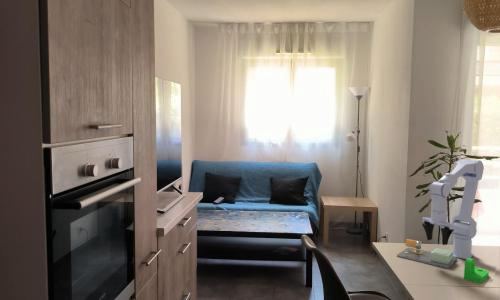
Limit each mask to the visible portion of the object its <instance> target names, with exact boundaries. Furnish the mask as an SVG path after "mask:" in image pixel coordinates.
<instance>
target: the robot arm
mask: <svg viewBox="0 0 500 300" xmlns="http://www.w3.org/2000/svg"><path fill="white" fill-rule="evenodd" d="M484 167H485V166H484V163H483V162H482V161H481V160H474V159H473V160H472V159H465V158H464V159H463V158H459V159H458V160H457V161H456V163H455V168H453V169H452V171H451V172H446V173H444V175H443V176H442V177H441V178H440V179H439V180H437V181H434V182H432V183H431V184H430V185H429V188H428V192H429V194H430V195H429V197H430V200H431V206H430V208H431V209H430V210H431V211H430V217H427V216H425V217H424V216H423V217H421V218H422V219H421V222H423V223H421V225H422V227H423V229H424V231H425V232H424V233H425V235H426V239H427V241H432V240H433V232H434V228H435V226H439V227H441V228H440V232H441V237H442V238H441V240H442V241H441V245H442V246H446V245H447V244H448V243H449V239H450V237H451V235H452V237H453V245H452V251H453V256H455V257H457V259H464V260H466V259H467V258H472V257H473V256H474V253H472V247H473V240H472V239H474V238H475V237H476V234H477V226H478V225H477V221H476V220H475V219H474V218H473V217H472V214H473V211H474V205H475V201H476V200H475V199H476V196H477V191H478V186H479V181H482V179H483V175H484V169H485V168H484ZM460 177H461V178H462V179H464V181H465V184H464V189H463V192H462V193H463V195H462V199H461V203H460V208H459V213H458V214H457V215H455V216H453V218H452V220H451V222H449V221H446V216H447V215H446V214H447V213H446V212H447V197H448V196H449V195H450V193H451V191H452V188H453V187H455V185H456V184H457V183H458V179H459V178H460Z"/></svg>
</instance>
